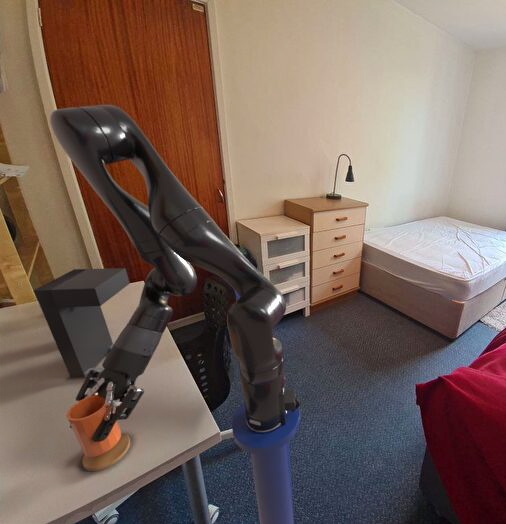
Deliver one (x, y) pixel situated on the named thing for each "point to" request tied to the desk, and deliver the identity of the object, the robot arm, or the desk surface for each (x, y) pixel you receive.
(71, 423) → the cup
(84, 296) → the coffee maker
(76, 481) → the desk surface
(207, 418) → the desk surface
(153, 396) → the desk surface
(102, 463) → the coaster
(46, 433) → the desk surface
